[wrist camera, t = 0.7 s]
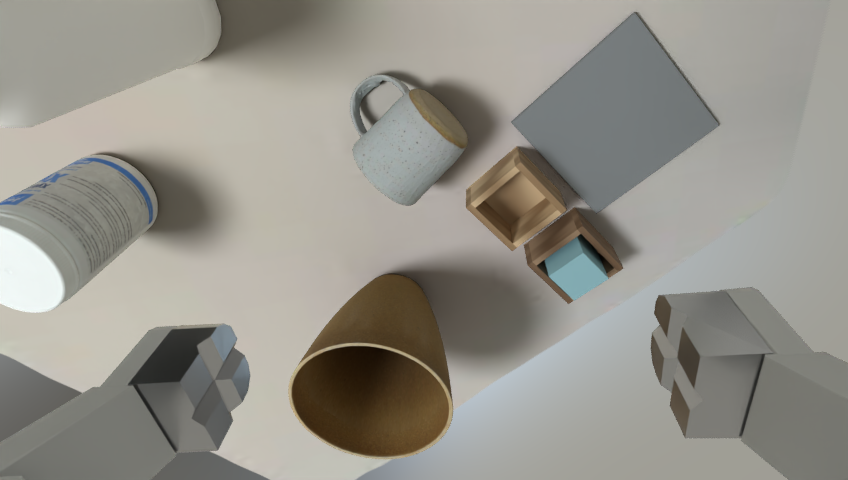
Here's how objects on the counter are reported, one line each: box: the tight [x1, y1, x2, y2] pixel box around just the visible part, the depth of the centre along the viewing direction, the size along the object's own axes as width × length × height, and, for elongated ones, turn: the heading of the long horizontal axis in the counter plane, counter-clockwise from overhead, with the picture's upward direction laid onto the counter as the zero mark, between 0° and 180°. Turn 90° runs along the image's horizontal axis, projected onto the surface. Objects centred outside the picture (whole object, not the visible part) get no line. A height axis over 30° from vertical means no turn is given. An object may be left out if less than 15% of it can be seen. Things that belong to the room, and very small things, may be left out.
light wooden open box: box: [466, 146, 567, 251], centre depth 47 cm, size 7×7×4 cm
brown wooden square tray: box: [524, 207, 623, 304], centre depth 50 cm, size 7×7×4 cm
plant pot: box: [288, 274, 453, 459], centre depth 50 cm, size 15×15×16 cm
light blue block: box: [545, 234, 609, 301], centre depth 49 cm, size 4×4×6 cm
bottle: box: [0, 0, 221, 128], centre depth 29 cm, size 8×8×30 cm
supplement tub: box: [0, 155, 158, 313], centre depth 46 cm, size 10×10×15 cm
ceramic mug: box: [350, 74, 468, 206], centre depth 42 cm, size 11×8×8 cm
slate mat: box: [511, 13, 719, 214], centre depth 44 cm, size 13×13×1 cm
